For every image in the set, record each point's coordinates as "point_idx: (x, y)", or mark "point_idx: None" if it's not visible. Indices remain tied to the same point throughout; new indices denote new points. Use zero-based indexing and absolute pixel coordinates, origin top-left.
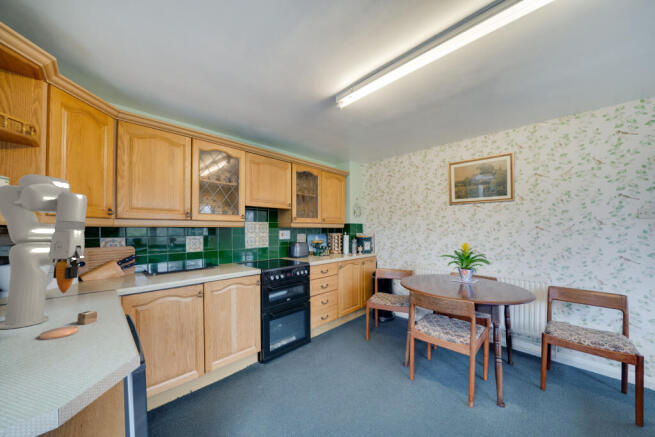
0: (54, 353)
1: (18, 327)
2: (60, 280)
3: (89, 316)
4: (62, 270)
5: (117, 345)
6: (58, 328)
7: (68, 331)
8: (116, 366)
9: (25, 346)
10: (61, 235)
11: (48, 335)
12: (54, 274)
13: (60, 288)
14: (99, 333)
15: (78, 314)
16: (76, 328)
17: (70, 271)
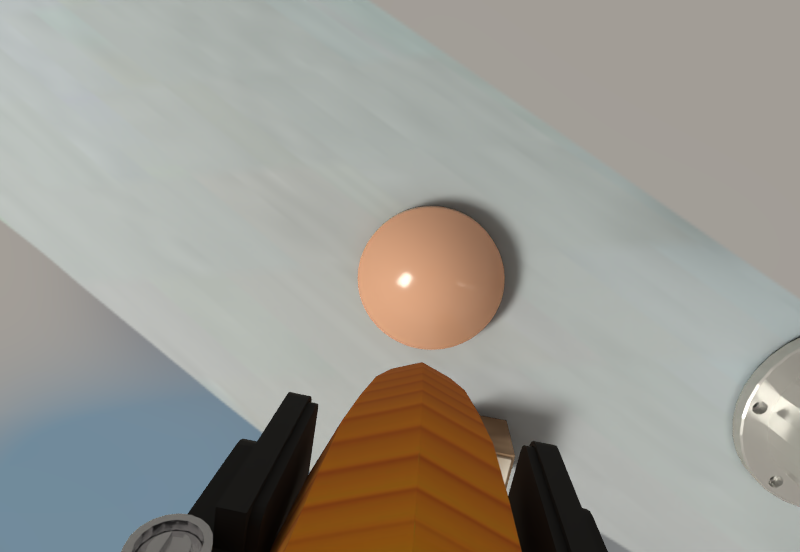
0: (184, 61)
1: (782, 347)
2: (388, 389)
3: None
4: (334, 474)
5: (3, 171)
6: (478, 312)
7: (371, 275)
8: None
9: (422, 120)
10: None
11: (412, 214)
12: (543, 472)
13: (413, 364)
14: (239, 301)
15: (510, 452)
16: (377, 318)
17: (219, 481)
